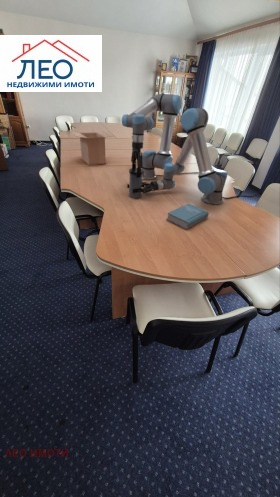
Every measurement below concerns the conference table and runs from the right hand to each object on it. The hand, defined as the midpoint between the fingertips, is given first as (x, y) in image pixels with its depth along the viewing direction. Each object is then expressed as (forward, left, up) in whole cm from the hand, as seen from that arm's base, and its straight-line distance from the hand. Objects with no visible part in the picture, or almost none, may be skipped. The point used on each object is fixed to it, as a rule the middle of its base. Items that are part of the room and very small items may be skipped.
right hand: (129, 188), depth 164 cm
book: (-39, +31, -6) cm, 50 cm away
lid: (-4, -2, +13) cm, 14 cm away
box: (+43, -87, -6) cm, 97 cm away
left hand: (-4, -2, +10) cm, 11 cm away
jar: (-4, -2, -6) cm, 8 cm away
